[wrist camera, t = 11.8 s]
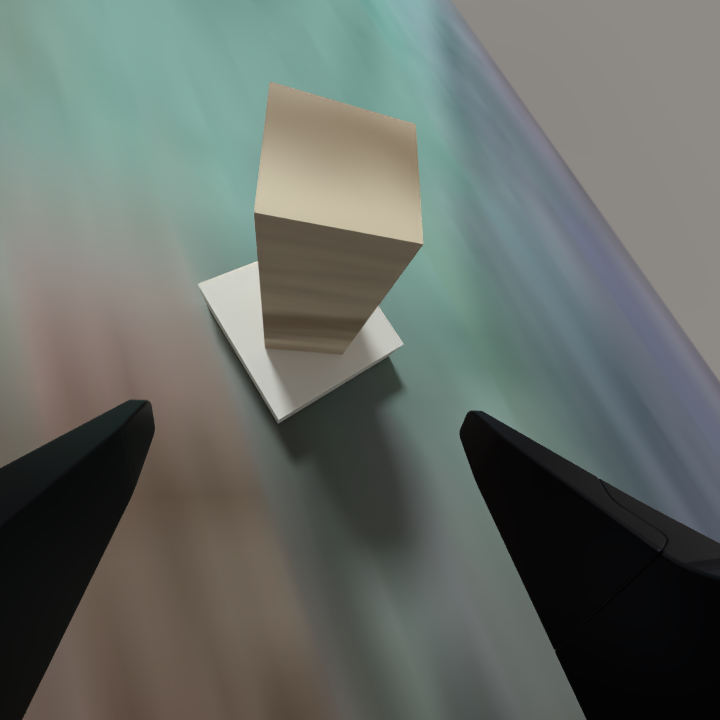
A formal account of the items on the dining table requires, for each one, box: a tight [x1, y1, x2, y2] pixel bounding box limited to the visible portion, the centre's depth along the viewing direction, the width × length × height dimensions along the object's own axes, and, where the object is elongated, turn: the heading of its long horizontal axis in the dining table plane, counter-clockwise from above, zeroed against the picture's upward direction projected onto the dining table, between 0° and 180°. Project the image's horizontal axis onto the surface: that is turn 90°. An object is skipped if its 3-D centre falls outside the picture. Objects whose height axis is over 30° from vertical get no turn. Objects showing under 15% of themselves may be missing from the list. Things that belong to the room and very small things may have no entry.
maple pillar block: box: [254, 82, 423, 355], centre depth 15 cm, size 5×5×12 cm
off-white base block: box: [198, 261, 403, 424], centre depth 22 cm, size 10×10×3 cm
